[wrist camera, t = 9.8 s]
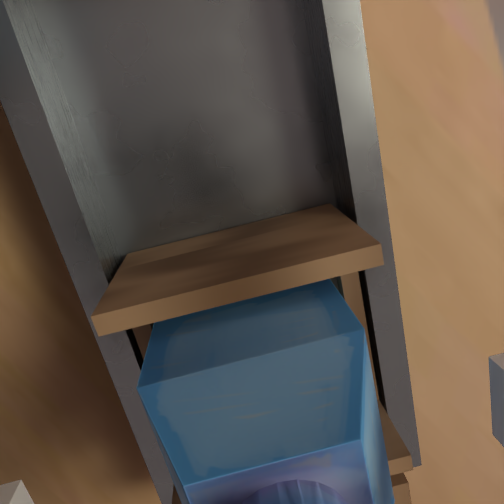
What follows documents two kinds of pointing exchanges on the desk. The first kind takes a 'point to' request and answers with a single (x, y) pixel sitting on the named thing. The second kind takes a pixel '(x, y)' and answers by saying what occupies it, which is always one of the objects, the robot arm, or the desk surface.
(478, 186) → the desk surface
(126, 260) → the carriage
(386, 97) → the desk surface
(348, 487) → the perfume bottle
